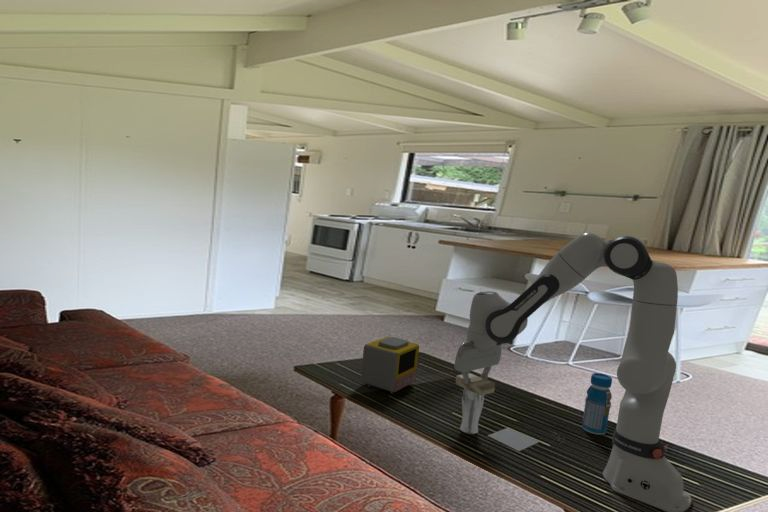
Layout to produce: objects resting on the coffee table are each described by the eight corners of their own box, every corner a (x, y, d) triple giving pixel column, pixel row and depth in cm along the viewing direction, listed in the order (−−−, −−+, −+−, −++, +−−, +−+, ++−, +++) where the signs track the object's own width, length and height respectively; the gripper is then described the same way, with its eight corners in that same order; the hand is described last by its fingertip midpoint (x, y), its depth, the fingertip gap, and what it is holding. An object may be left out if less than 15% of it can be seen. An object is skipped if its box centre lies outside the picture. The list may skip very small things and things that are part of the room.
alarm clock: (393, 398, 193) (398, 350, 191) (358, 386, 201) (363, 341, 199) (417, 384, 210) (422, 341, 208) (384, 374, 218) (388, 332, 216)
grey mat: (539, 443, 167) (539, 441, 167) (518, 452, 159) (519, 451, 159) (508, 429, 176) (508, 427, 175) (487, 437, 167) (487, 435, 167)
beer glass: (479, 437, 166) (485, 393, 165) (457, 433, 168) (463, 389, 166) (479, 429, 173) (485, 386, 172) (458, 425, 174) (464, 382, 173)
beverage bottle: (586, 434, 178) (594, 378, 176) (577, 423, 186) (585, 370, 184) (610, 436, 178) (619, 381, 176) (600, 426, 186) (609, 373, 184)
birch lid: (494, 392, 167) (495, 383, 167) (482, 395, 163) (483, 386, 162) (467, 381, 175) (468, 372, 175) (455, 384, 171) (456, 375, 170)
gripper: (468, 346, 158) (462, 389, 159) (506, 339, 172) (501, 379, 173) (452, 340, 162) (447, 382, 164) (490, 334, 176) (485, 373, 178)
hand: (475, 380), depth 169 cm, fingers open, 8 cm apart
